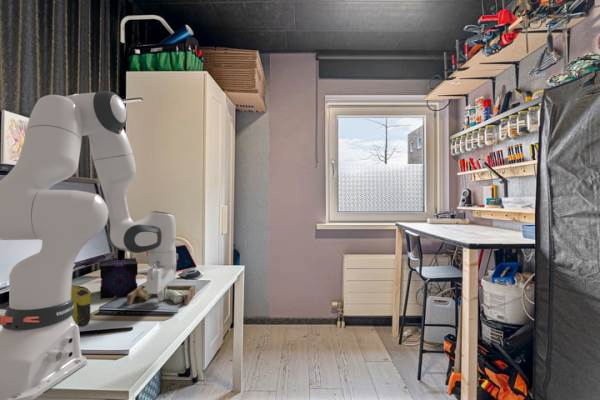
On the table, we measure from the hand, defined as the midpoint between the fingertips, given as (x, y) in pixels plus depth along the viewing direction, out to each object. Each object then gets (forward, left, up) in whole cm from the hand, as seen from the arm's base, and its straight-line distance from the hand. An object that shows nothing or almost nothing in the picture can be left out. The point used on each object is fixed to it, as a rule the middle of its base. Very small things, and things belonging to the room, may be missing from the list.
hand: (161, 299), depth 119 cm
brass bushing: (+10, +8, 0) cm, 13 cm away
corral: (+6, +2, -2) cm, 7 cm away
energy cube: (+15, +21, -2) cm, 26 cm away
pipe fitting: (+5, -3, -3) cm, 7 cm away
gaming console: (-10, +25, -2) cm, 27 cm away
